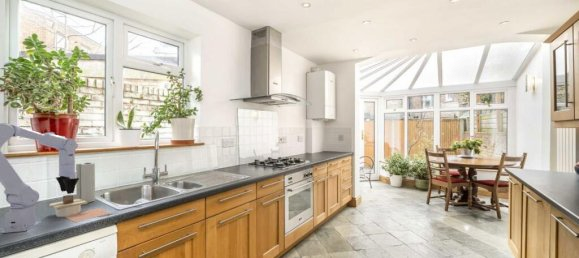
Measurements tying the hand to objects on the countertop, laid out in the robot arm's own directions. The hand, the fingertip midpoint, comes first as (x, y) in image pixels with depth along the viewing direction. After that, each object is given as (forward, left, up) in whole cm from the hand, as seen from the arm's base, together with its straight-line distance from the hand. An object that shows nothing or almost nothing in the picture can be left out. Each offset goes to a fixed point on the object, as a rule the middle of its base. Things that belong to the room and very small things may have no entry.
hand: (67, 192), depth 122 cm
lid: (0, 0, -6) cm, 6 cm away
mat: (-5, -10, -10) cm, 16 cm away
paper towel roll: (+21, +1, -11) cm, 24 cm away
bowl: (0, 0, -10) cm, 10 cm away
